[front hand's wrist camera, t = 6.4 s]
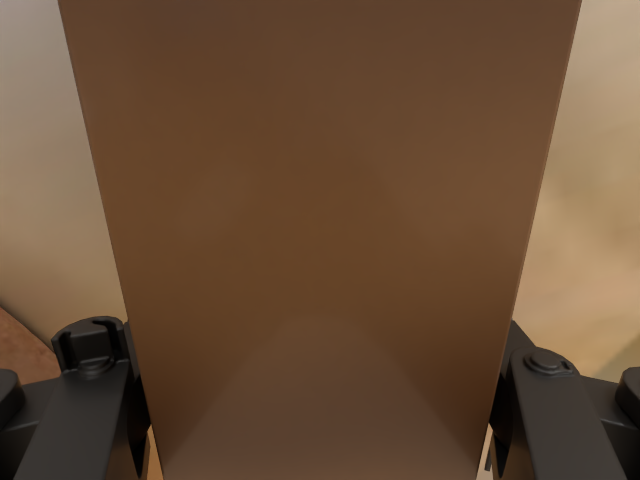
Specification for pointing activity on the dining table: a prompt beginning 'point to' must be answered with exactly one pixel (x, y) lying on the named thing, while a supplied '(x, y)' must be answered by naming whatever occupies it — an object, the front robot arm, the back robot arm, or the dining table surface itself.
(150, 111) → the box
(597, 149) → the dining table surface
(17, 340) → the stone
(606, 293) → the dining table surface
